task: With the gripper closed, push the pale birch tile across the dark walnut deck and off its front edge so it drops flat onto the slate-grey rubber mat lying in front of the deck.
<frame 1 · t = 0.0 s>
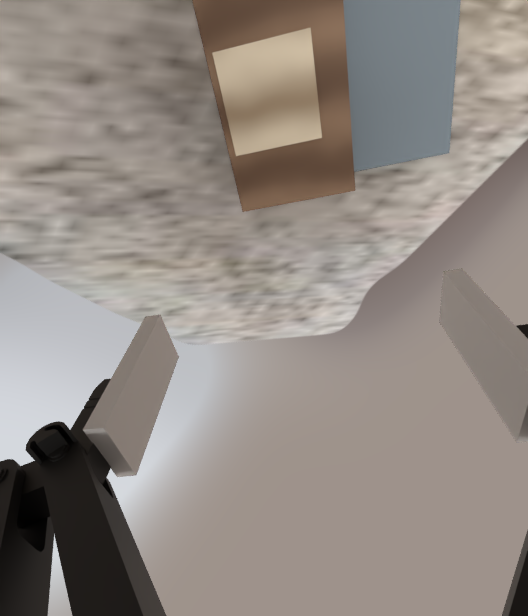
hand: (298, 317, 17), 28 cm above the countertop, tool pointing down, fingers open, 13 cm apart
birch tile: (270, 96, 33), point 4 cm above the countertop, touching walnut deck
rubber mat: (399, 63, 34), on the countertop
walnut deck: (281, 91, 36), on the countertop
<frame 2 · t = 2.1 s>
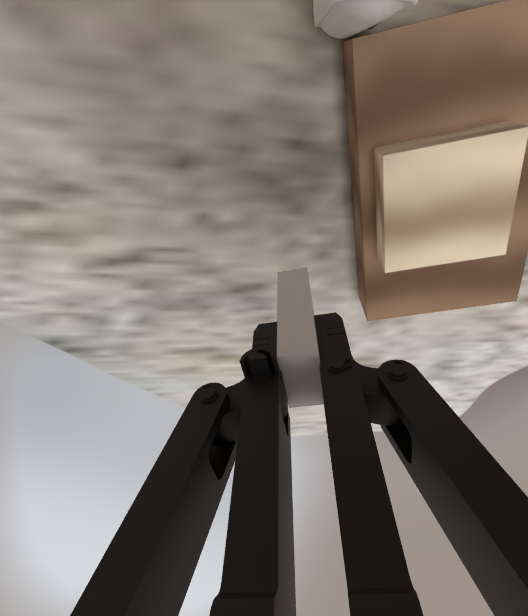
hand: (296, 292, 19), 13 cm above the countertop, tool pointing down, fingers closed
birch tile: (434, 196, 25), point 4 cm above the countertop, touching walnut deck
walnut deck: (429, 179, 28), on the countertop
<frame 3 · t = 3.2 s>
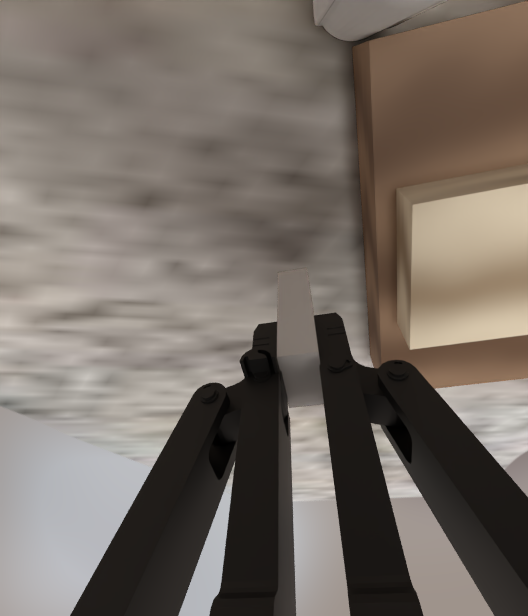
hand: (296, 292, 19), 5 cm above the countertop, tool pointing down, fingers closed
birch tile: (475, 250, 19), point 4 cm above the countertop, touching walnut deck
walnut deck: (463, 220, 22), on the countertop
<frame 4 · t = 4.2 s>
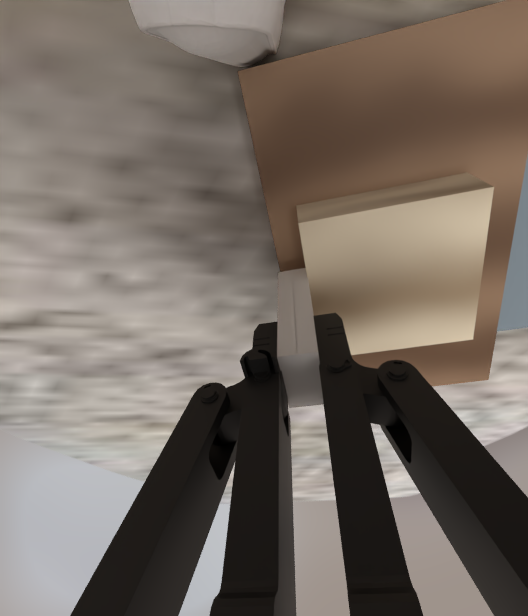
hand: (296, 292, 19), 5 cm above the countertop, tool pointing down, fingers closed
birch tile: (381, 263, 19), point 4 cm above the countertop, touching gripper
walnut deck: (375, 233, 22), on the countertop
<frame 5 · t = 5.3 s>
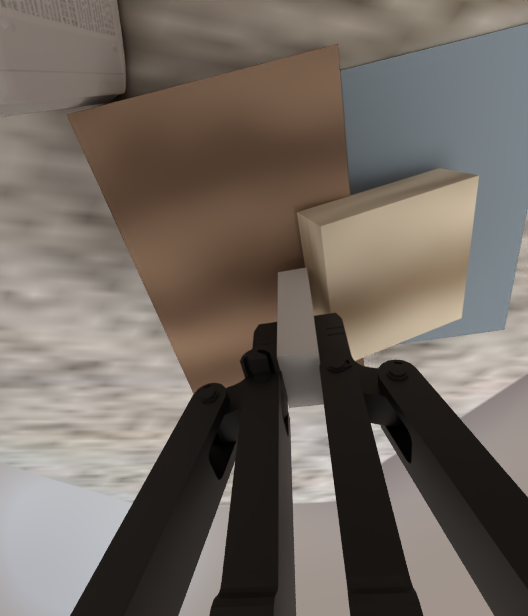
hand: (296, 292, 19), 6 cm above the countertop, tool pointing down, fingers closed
birch tile: (373, 261, 20), point 4 cm above the countertop, tilted 21°, touching gripper, walnut deck
rubber mat: (434, 221, 22), on the countertop
walnut deck: (253, 254, 24), on the countertop
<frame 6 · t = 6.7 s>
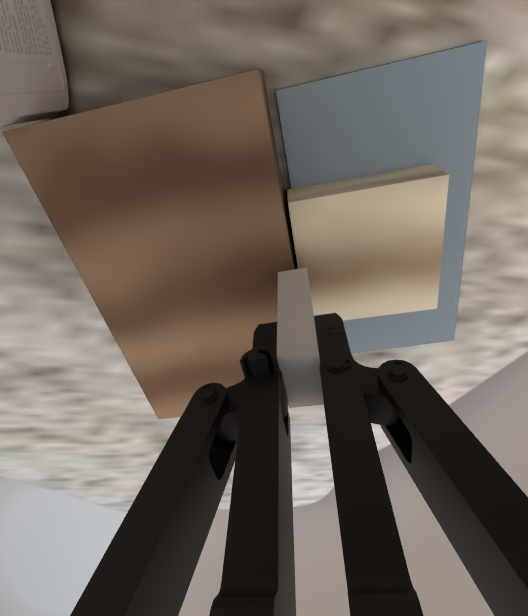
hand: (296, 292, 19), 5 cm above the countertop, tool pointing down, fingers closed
birch tile: (360, 242, 22), resting on rubber mat
rubber mat: (379, 235, 22), on the countertop
walnut deck: (205, 265, 24), on the countertop
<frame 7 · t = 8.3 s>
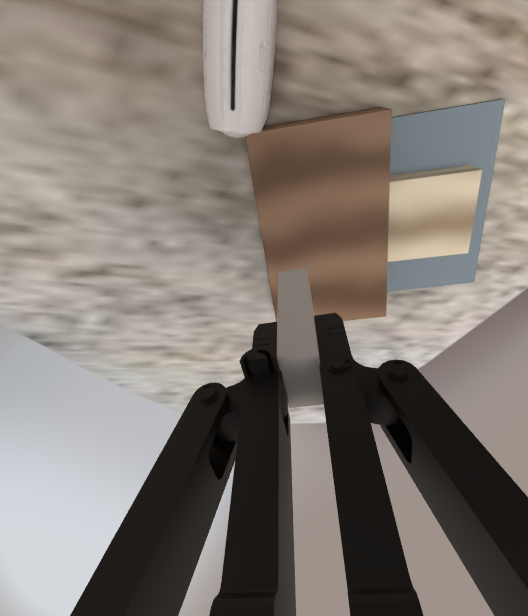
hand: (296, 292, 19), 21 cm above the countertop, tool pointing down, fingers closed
birch tile: (422, 211, 36), resting on rubber mat
rubber mat: (433, 208, 36), on the countertop
photo printer: (249, 60, 31), on the countertop
walnut deck: (320, 223, 38), on the countertop
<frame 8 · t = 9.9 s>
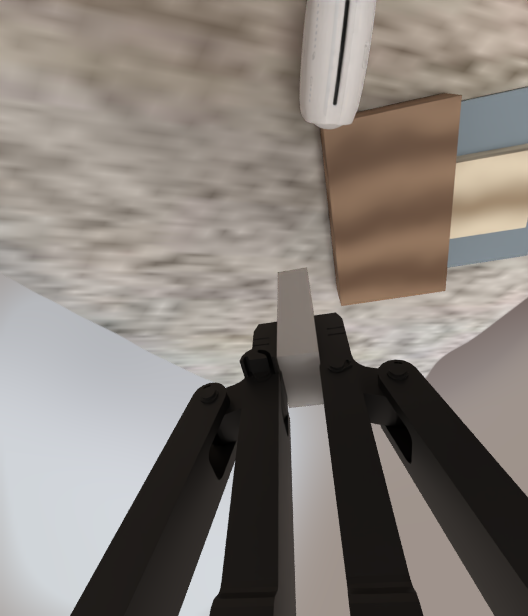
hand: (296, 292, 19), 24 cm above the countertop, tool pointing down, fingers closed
birch tile: (480, 190, 39), resting on rubber mat
rubber mat: (490, 186, 39), on the countertop
photo printer: (323, 55, 33), on the countertop
walnut deck: (382, 206, 40), on the countertop
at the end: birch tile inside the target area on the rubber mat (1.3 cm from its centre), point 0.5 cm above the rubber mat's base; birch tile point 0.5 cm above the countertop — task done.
